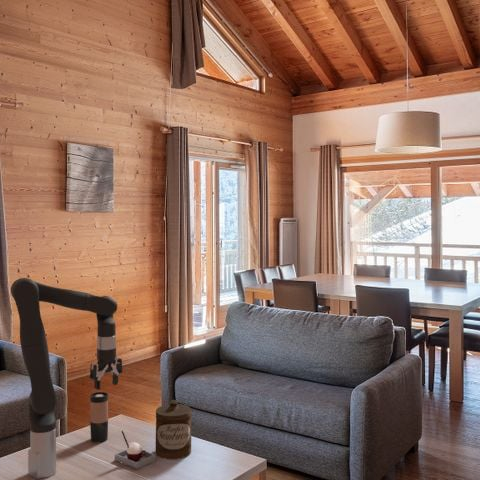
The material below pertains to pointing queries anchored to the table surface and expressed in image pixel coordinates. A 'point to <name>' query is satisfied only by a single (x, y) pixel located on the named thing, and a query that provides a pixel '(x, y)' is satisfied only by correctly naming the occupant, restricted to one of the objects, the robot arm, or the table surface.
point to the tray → (140, 463)
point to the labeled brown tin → (173, 431)
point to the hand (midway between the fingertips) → (106, 387)
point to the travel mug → (99, 416)
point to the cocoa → (133, 450)
